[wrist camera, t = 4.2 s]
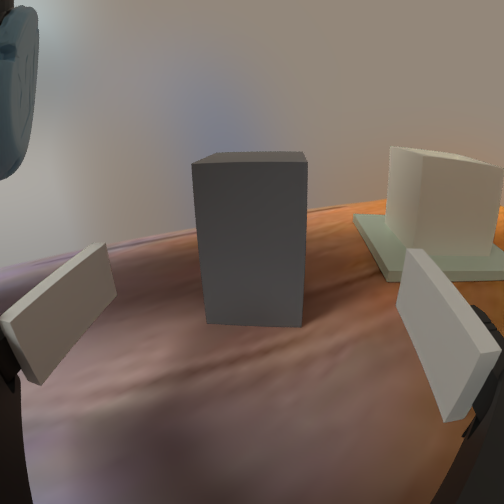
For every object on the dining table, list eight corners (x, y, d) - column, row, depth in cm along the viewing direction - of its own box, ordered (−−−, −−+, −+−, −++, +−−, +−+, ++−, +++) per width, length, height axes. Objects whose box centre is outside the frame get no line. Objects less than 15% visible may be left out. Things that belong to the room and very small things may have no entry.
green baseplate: (387, 282, 24) (389, 270, 23) (352, 221, 38) (353, 213, 38) (523, 279, 22) (526, 270, 22) (459, 226, 37) (460, 219, 36)
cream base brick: (411, 255, 26) (423, 155, 23) (384, 222, 35) (390, 146, 31) (489, 256, 25) (504, 168, 21) (451, 225, 34) (459, 154, 30)
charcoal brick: (206, 323, 20) (191, 163, 16) (224, 279, 25) (216, 152, 21) (301, 327, 19) (307, 161, 15) (299, 281, 25) (302, 151, 21)
